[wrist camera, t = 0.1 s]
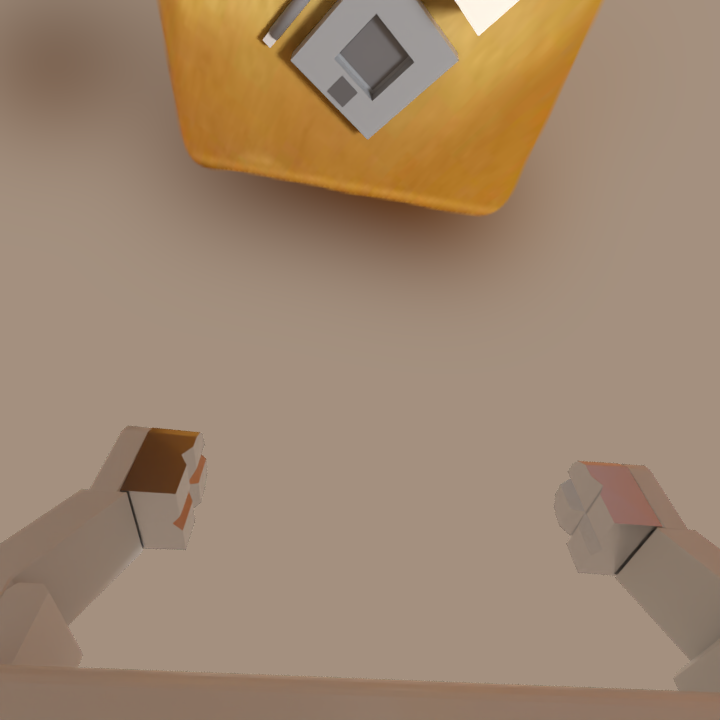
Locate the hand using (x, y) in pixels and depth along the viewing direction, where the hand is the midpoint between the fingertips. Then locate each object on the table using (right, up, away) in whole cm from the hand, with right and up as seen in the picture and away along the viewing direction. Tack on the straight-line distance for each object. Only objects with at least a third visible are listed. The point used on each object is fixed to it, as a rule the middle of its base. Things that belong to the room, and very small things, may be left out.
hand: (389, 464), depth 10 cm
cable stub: (-7, +38, +37) cm, 54 cm away
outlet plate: (+1, +35, +40) cm, 54 cm away
